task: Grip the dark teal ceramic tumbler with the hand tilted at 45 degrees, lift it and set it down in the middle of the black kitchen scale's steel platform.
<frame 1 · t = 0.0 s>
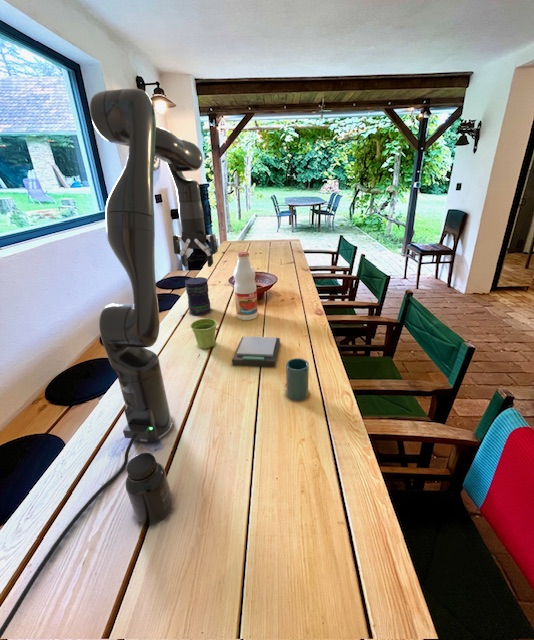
hand: (197, 266, 109), 29 cm above the table, tool pointing down, fingers open, 8 cm apart
plant pot: (206, 345, 119), on the table
scale: (257, 354, 112), on the table
fruit juice: (247, 316, 142), on the table
tumbler: (297, 394, 91), on the table
storage jar: (200, 311, 149), on the table
supplement bottle: (154, 509, 61), on the table
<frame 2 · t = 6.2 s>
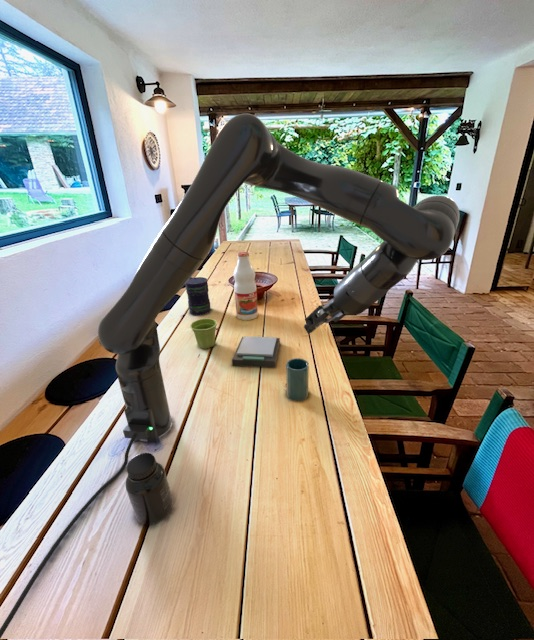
hand: (320, 324, 74), 25 cm above the table, tool tilted 45°, fingers open, 8 cm apart
nothing on the table moved.
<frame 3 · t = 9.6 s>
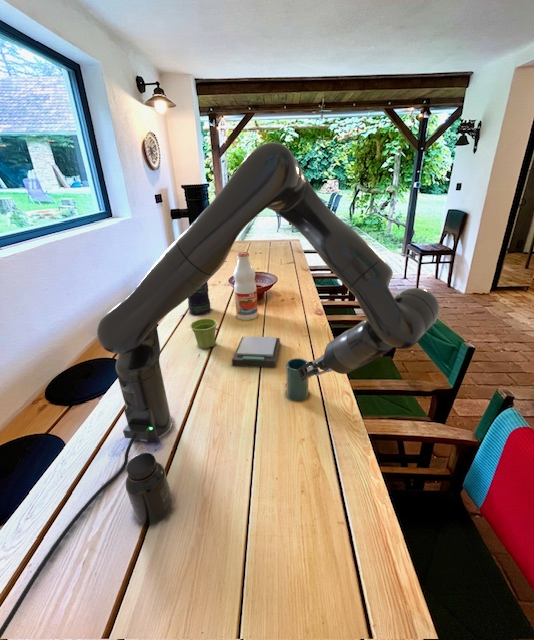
hand: (315, 371, 78), 13 cm above the table, tool tilted 45°, fingers open, 8 cm apart
nothing on the table moved.
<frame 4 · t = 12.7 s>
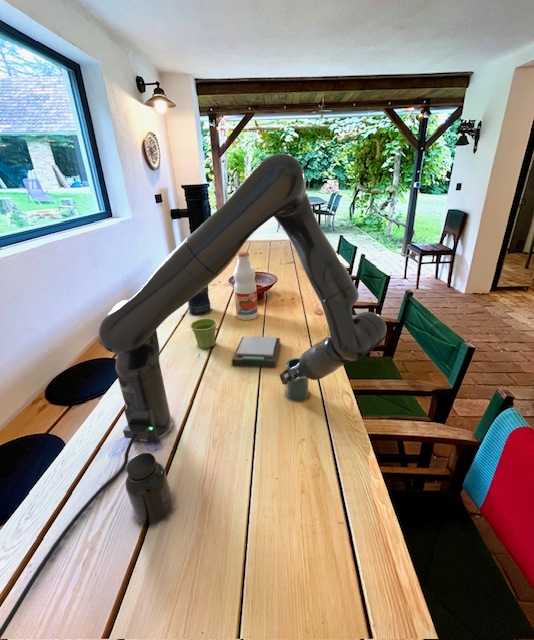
hand: (294, 377, 90), 5 cm above the table, tool tilted 45°, fingers closed on tumbler, 6 cm apart
tumbler: (297, 394, 91), on the table, touching gripper
everything else where it was.
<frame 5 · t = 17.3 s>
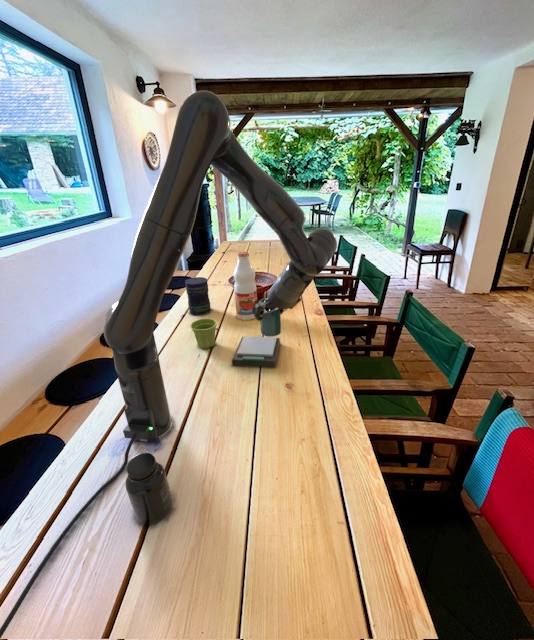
hand: (267, 315, 97), 18 cm above the table, tool tilted 45°, fingers closed on tumbler, 6 cm apart
tumbler: (271, 332, 97), point 13 cm above the table, touching gripper
everything else where it was.
when the fingers open (8 cm above the table, at t = 22.0 s): tumbler stays where it is, resting on scale.
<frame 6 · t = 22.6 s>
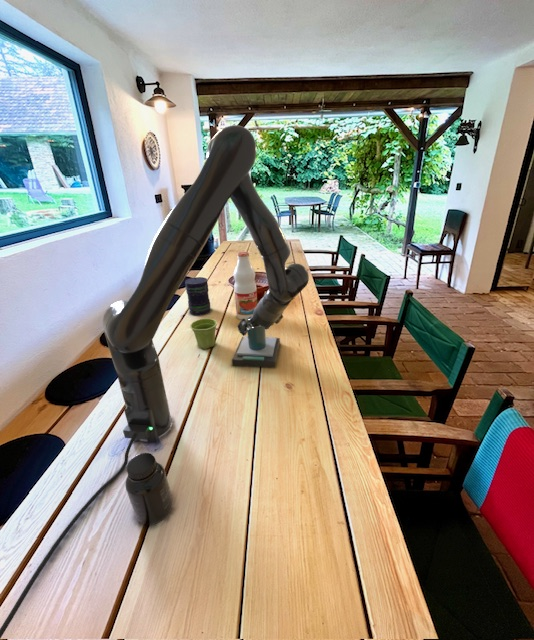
hand: (254, 329, 109), 9 cm above the table, tool tilted 45°, fingers open, 8 cm apart
tumbler: (257, 346, 110), point 3 cm above the table, touching scale
everything else where it was.
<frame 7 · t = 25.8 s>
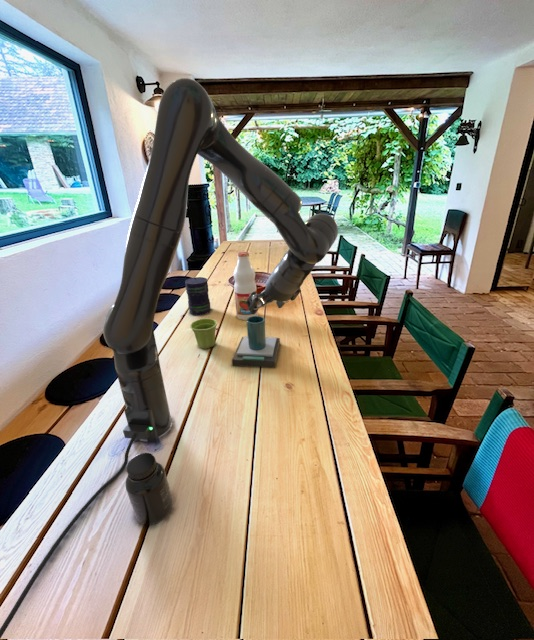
hand: (265, 308, 92), 22 cm above the table, tool tilted 45°, fingers open, 8 cm apart
nothing on the table moved.
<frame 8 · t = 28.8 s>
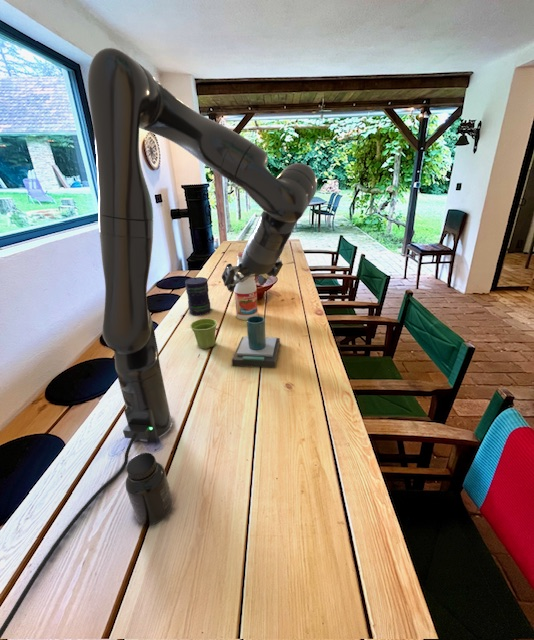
hand: (245, 285, 83), 31 cm above the table, tool tilted 45°, fingers open, 8 cm apart
nothing on the table moved.
at the end: tumbler inside the target area on the scale (0.1 cm from its centre), point 3.2 cm above the scale's base; tumbler tilted 0°; the gripper is holding nothing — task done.
